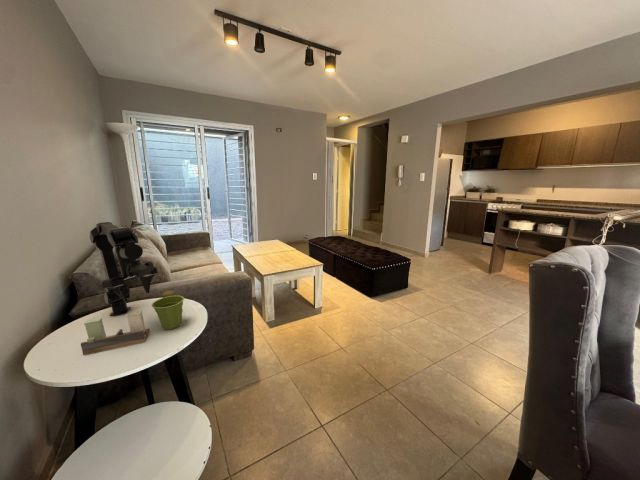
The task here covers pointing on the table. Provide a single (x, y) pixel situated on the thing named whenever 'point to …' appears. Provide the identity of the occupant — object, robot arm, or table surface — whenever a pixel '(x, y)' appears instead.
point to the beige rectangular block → (136, 321)
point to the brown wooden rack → (114, 341)
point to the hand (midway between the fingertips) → (137, 297)
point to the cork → (169, 293)
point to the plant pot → (169, 311)
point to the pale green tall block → (95, 328)
